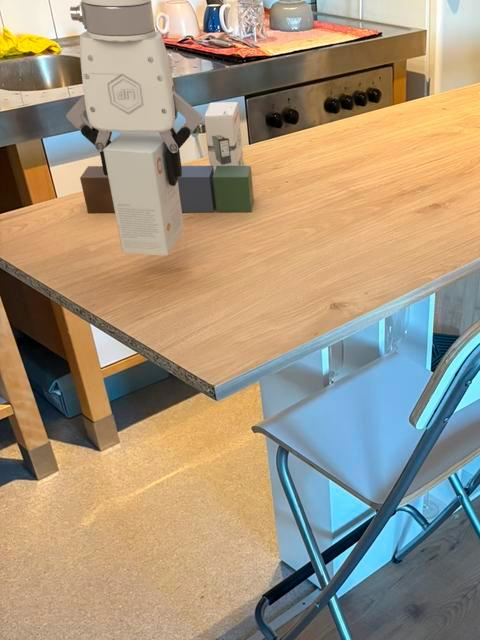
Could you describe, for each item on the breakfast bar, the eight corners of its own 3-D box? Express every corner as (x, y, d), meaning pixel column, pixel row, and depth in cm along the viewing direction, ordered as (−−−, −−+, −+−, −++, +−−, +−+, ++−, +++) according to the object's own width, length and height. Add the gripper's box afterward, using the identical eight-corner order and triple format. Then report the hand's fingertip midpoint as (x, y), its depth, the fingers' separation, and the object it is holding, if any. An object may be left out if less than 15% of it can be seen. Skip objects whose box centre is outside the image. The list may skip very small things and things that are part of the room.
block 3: (216, 212, 130) (212, 177, 126) (220, 200, 134) (216, 165, 131) (251, 212, 130) (248, 176, 127) (253, 199, 134) (250, 165, 131)
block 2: (179, 212, 130) (173, 177, 126) (183, 200, 134) (178, 165, 130) (213, 212, 130) (209, 177, 126) (217, 200, 134) (213, 165, 131)
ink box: (217, 172, 144) (209, 100, 137) (245, 172, 145) (238, 100, 137) (212, 189, 138) (202, 115, 130) (241, 189, 138) (233, 115, 130)
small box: (140, 229, 112) (123, 128, 103) (185, 232, 111) (173, 132, 103) (120, 253, 105) (101, 148, 97) (168, 257, 105) (153, 152, 97)
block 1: (87, 213, 129) (79, 177, 125) (95, 200, 133) (87, 166, 130) (122, 212, 129) (115, 177, 126) (129, 200, 133) (122, 165, 130)
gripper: (31, 24, 88) (67, 191, 100) (193, 29, 89) (210, 193, 101) (49, 11, 94) (81, 170, 105) (201, 16, 95) (216, 173, 106)
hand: (144, 180), depth 103 cm, fingers closed on small box, 6 cm apart
